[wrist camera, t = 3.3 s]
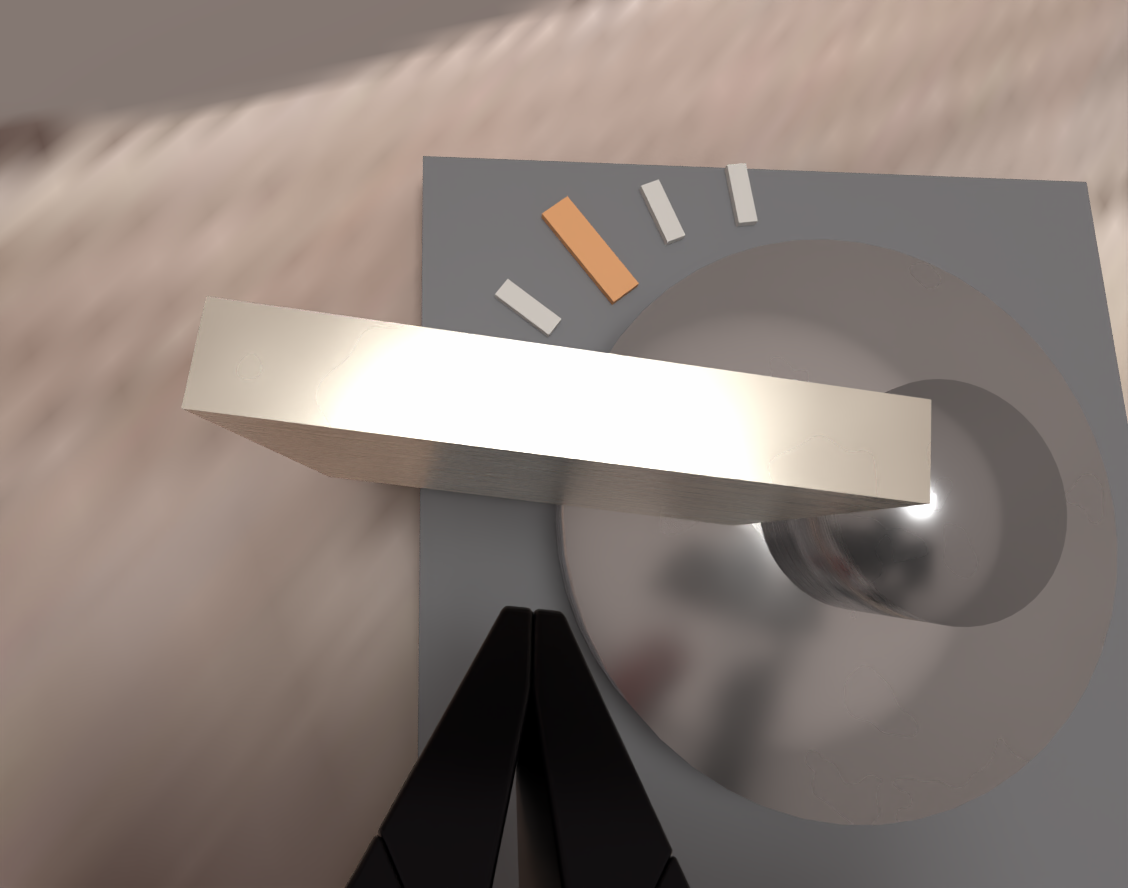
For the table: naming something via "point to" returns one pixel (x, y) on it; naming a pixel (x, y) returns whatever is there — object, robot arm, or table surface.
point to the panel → (595, 323)
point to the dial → (754, 507)
